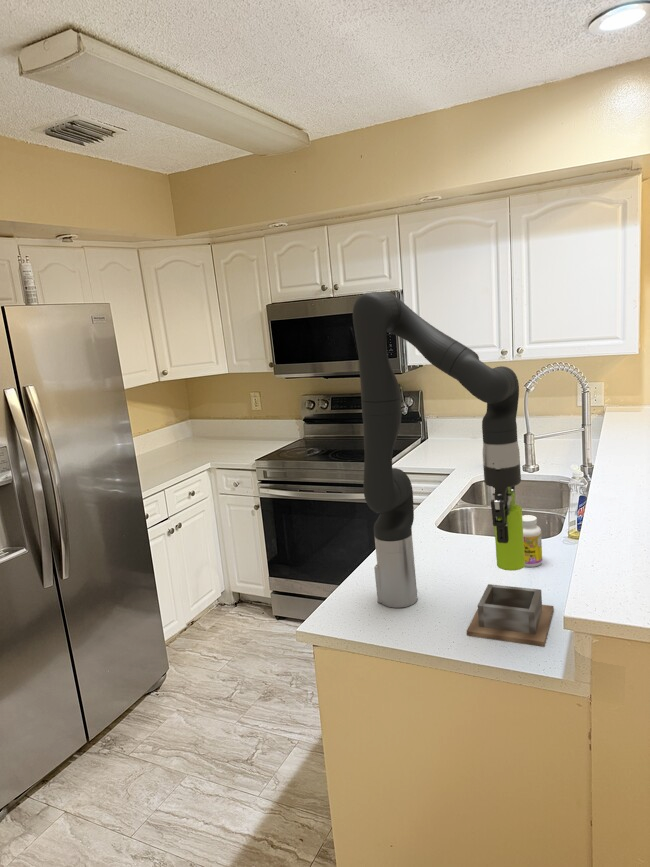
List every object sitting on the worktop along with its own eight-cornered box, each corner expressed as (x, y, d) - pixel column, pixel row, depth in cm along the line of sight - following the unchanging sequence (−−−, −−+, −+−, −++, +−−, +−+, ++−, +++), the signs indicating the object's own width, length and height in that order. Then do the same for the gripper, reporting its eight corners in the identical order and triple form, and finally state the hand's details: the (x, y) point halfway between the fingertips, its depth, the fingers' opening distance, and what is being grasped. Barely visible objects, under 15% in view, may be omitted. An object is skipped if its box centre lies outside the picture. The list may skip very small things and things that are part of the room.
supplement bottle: (512, 565, 163) (510, 520, 160) (521, 556, 168) (519, 512, 166) (537, 569, 159) (535, 523, 156) (545, 560, 164) (543, 515, 161)
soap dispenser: (499, 557, 136) (493, 471, 133) (529, 562, 132) (524, 474, 128) (488, 567, 132) (481, 479, 128) (518, 572, 127) (513, 481, 124)
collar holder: (466, 635, 131) (465, 609, 130) (483, 601, 145) (481, 578, 144) (544, 646, 124) (543, 619, 122) (553, 610, 137) (552, 585, 136)
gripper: (490, 453, 135) (495, 524, 139) (475, 470, 123) (481, 548, 126) (525, 453, 132) (529, 526, 135) (513, 471, 119) (518, 550, 123)
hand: (505, 536), depth 131 cm, fingers closed on soap dispenser, 6 cm apart
